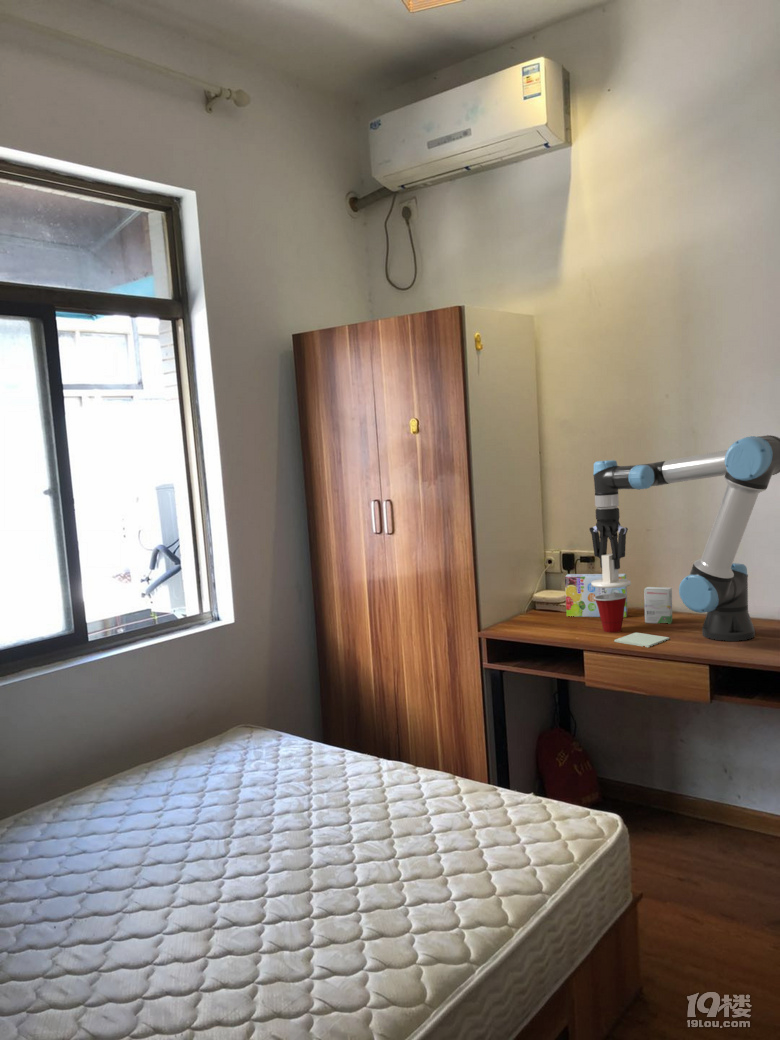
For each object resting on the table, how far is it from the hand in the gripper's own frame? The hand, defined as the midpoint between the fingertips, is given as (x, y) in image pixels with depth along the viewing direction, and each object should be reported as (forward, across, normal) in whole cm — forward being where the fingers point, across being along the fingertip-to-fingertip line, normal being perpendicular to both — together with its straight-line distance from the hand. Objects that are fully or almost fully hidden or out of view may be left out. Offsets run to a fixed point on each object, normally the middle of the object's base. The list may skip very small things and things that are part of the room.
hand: (610, 578), depth 269 cm
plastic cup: (+18, +1, 0) cm, 18 cm away
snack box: (+18, +18, -16) cm, 30 cm away
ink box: (+18, -5, -19) cm, 27 cm away
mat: (+18, -14, +6) cm, 24 cm away
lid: (+2, 0, 0) cm, 2 cm away
